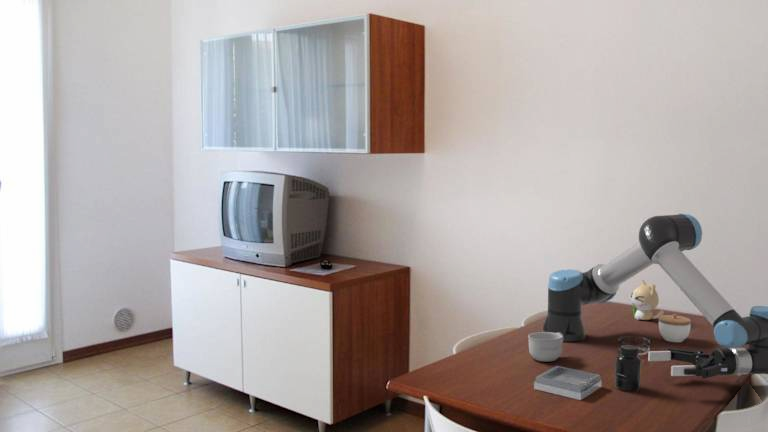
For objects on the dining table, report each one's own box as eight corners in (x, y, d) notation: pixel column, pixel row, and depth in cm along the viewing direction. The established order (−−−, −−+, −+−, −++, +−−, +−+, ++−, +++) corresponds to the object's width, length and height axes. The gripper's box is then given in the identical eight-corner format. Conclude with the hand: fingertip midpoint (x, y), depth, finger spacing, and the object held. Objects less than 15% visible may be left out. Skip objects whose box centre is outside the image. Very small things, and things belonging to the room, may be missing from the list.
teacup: (542, 366, 226) (543, 341, 226) (520, 356, 236) (521, 332, 235) (576, 360, 233) (577, 335, 232) (553, 351, 242) (554, 327, 242)
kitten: (622, 314, 294) (624, 278, 292) (646, 314, 295) (648, 277, 293) (639, 324, 279) (641, 285, 277) (664, 323, 280) (666, 285, 278)
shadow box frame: (534, 388, 206) (534, 376, 205) (556, 376, 217) (556, 365, 216) (580, 400, 197) (581, 387, 197) (601, 386, 208) (601, 375, 207)
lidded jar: (687, 346, 250) (688, 319, 249) (654, 341, 256) (655, 315, 255) (692, 338, 259) (693, 313, 258) (661, 334, 265) (662, 309, 264)
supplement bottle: (613, 390, 205) (615, 348, 204) (615, 382, 212) (617, 342, 210) (639, 393, 203) (641, 351, 201) (640, 385, 209) (642, 345, 208)
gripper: (755, 388, 198) (681, 391, 195) (706, 361, 222) (639, 362, 220) (757, 362, 197) (683, 364, 195) (707, 337, 221) (640, 338, 219)
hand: (659, 363), depth 207 cm, fingers open, 13 cm apart
